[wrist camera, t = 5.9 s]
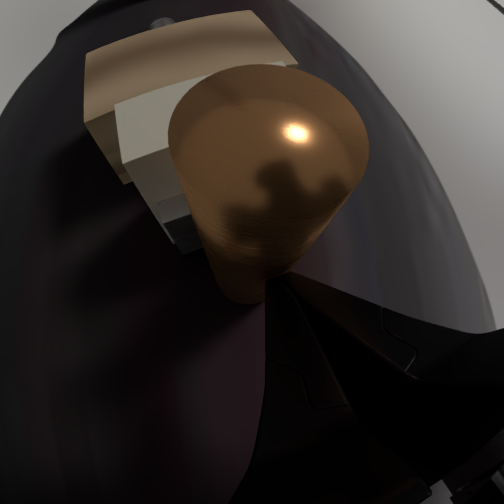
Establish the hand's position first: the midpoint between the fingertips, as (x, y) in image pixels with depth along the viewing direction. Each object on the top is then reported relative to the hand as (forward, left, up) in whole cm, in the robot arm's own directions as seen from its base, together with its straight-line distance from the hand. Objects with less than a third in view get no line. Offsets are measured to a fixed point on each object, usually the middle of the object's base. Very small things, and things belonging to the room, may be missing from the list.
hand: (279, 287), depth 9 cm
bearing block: (+14, 0, -7) cm, 15 cm away
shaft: (+12, 0, -7) cm, 14 cm away
